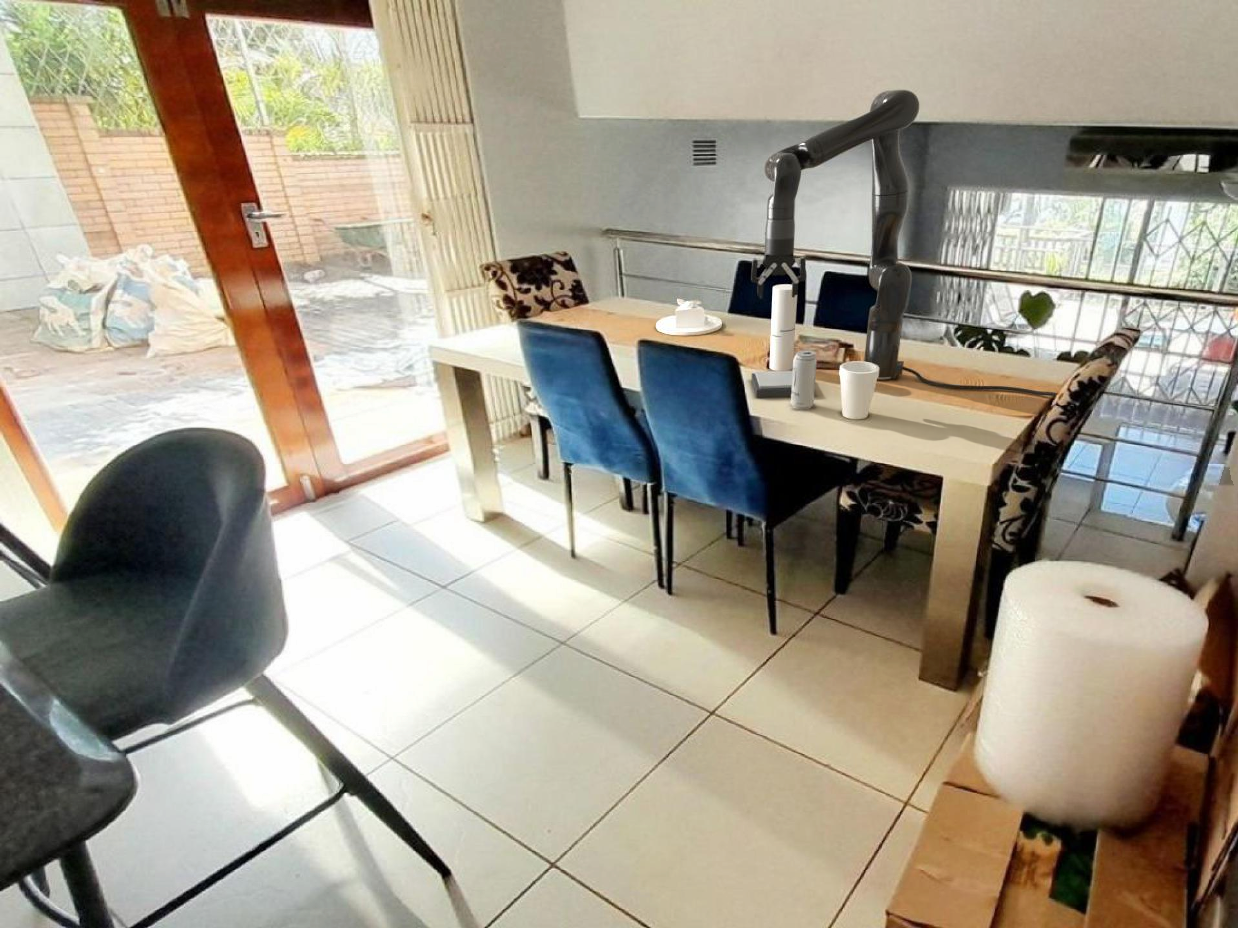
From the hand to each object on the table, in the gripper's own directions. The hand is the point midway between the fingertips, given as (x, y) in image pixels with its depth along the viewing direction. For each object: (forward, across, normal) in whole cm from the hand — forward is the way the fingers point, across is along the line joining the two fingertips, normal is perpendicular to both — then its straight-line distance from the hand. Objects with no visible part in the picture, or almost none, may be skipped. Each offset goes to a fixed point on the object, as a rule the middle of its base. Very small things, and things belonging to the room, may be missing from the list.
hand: (777, 297), depth 192 cm
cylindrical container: (+27, +4, +19) cm, 33 cm away
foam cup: (+27, +20, -20) cm, 38 cm away
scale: (+27, +2, 0) cm, 27 cm away
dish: (+27, -27, +68) cm, 77 cm away
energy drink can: (+27, +7, -14) cm, 31 cm away
